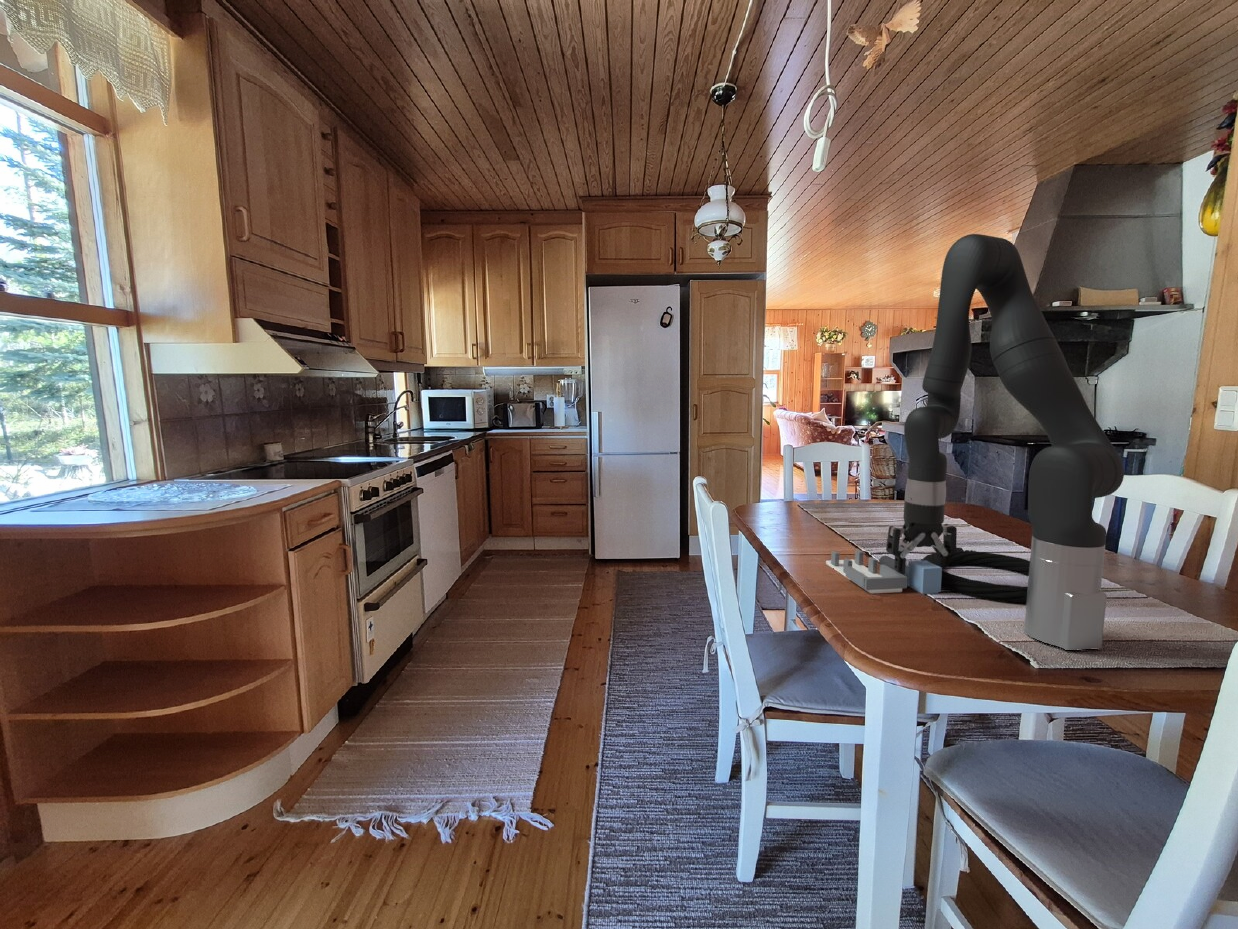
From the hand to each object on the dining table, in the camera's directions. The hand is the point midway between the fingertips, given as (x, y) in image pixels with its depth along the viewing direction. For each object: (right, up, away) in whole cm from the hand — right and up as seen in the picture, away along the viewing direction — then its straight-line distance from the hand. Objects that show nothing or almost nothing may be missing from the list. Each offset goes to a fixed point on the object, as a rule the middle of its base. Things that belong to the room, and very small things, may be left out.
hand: (919, 572), depth 113 cm
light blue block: (0, -3, +4) cm, 5 cm away
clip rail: (-10, -2, +8) cm, 12 cm away
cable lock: (+17, -3, +4) cm, 18 cm away
